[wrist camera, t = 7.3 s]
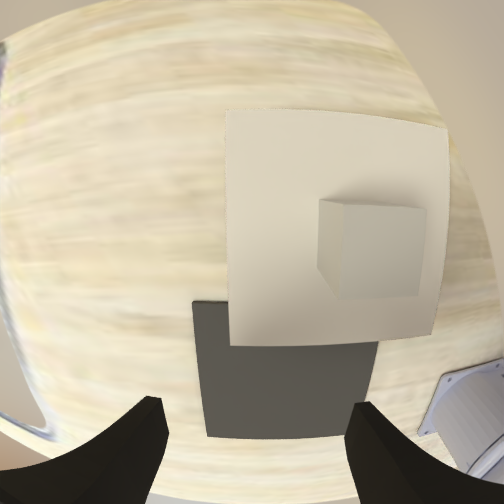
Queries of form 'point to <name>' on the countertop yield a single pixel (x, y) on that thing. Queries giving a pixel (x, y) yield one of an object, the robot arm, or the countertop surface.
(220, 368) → the mat
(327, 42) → the countertop surface
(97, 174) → the countertop surface
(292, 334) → the cover
